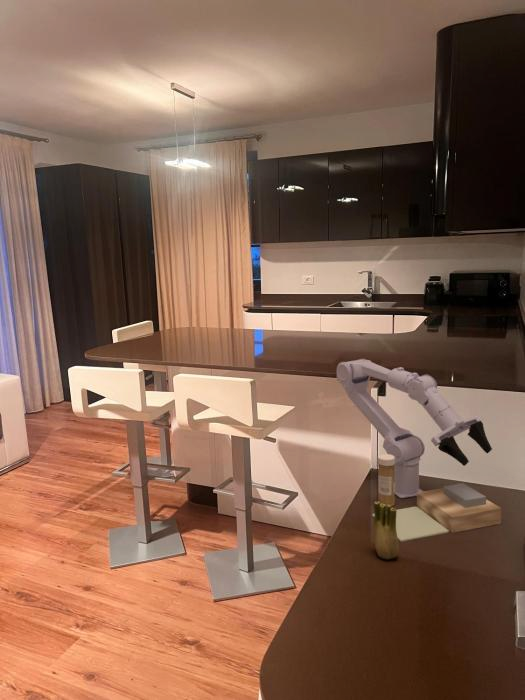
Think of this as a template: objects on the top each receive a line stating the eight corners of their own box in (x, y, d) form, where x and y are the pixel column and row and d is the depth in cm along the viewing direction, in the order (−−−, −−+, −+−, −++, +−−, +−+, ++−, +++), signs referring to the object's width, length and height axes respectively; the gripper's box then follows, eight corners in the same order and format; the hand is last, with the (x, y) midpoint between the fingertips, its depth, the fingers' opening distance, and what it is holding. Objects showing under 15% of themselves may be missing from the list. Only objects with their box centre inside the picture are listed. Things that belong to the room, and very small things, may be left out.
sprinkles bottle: (398, 503, 137) (398, 455, 135) (389, 508, 134) (389, 460, 132) (383, 498, 141) (383, 452, 139) (374, 503, 138) (374, 456, 136)
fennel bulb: (371, 550, 114) (370, 500, 113) (391, 547, 115) (391, 497, 114) (381, 564, 109) (381, 511, 107) (402, 561, 110) (402, 509, 108)
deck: (416, 506, 135) (416, 492, 134) (461, 498, 139) (461, 485, 138) (452, 533, 121) (452, 517, 120) (500, 523, 124) (501, 508, 124)
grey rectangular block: (443, 493, 133) (443, 486, 133) (462, 490, 135) (462, 483, 134) (465, 508, 124) (465, 500, 124) (486, 504, 126) (486, 496, 126)
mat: (372, 515, 131) (372, 514, 131) (416, 507, 134) (416, 506, 134) (400, 541, 117) (400, 540, 117) (448, 532, 121) (449, 530, 121)
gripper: (426, 417, 126) (461, 462, 119) (469, 395, 131) (506, 438, 124) (417, 430, 132) (451, 474, 125) (459, 409, 136) (494, 451, 129)
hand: (478, 457), depth 125 cm, fingers open, 7 cm apart
